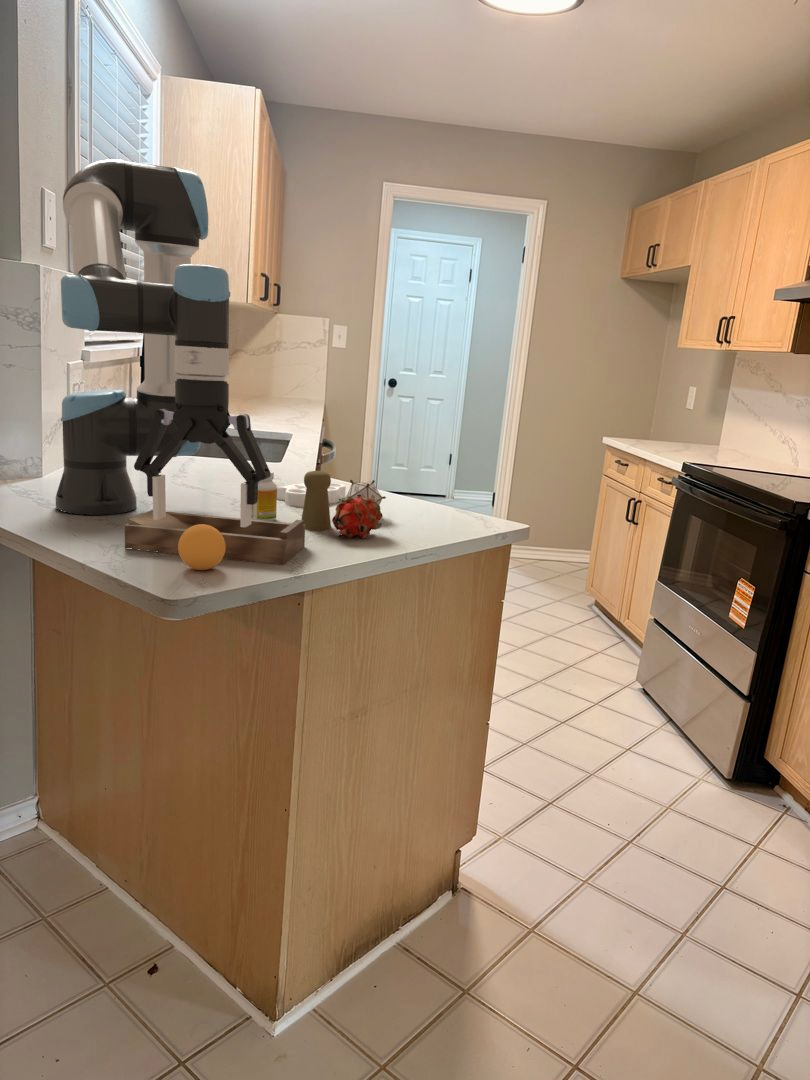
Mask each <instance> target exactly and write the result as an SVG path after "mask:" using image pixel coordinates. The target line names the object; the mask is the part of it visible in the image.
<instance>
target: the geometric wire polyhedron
mask: <svg viewBox="0 0 810 1080" xmlns="http://www.w3.org/2000/svg"><path fill="white" fill-rule="evenodd" d="M349 482H350V483H351V485H350V487H349V490H348V492H347V494H346V495H345V499H341V501H340V503H343V502H345V500H346V499H347V498H348V497H349V498H353V499H357V495H361V496H362V498H363V499H365V500H367V499H369V498H374V499H375V503H378V504H379V506H380V505H381V502H382V500H383V499H386V498H387V497H386V496H384V495H381V493H380V492H379V490H378V489H377V488H376V486H375V485H374V483H376V480H375V479H373V480H372V481H371V482H354V481H353V479H350V480H349Z"/></svg>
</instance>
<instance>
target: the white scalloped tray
mask: <svg viewBox="0 0 810 1080" xmlns="http://www.w3.org/2000/svg"><path fill="white" fill-rule="evenodd" d="M346 487H347V486H346V485H345V484H342V483H334V482H331V484H330V486H329V488H328V499H329V504H336V503H339V502H340V500H339V499H341V500H343V499H342V498H346V493H347V492H346V490H347V489H346ZM306 489H307V488H306V486H305V484H304V482H303V483H297V484H295V483H293V484H289V485H285V486H277V501H278V500H280V501H285V502H284V504H285V505H286V506H289V507H299V508H300V507H301V508H302V507H304V501H305V495H306ZM338 501H339V502H338Z"/></svg>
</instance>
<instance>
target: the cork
mask: <svg viewBox="0 0 810 1080" xmlns="http://www.w3.org/2000/svg"><path fill="white" fill-rule="evenodd" d="M303 483H304V484H305V486H306V488H307V489H306V495H305V501H304V507H303V508H302V513H301V514H302V515H301V519H300V520H304V524H305V530H308V531H317V532H318V531H327V530H330V529H331V528H332V525H331V524H332V520H331V512H330V503H329V499H328V488H329V486H330V484H331V483H332V478H331V475H330V473H328V472H326V471H323V470H311V471H307V472H306V473H305V474H304V476H303Z"/></svg>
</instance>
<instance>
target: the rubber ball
mask: <svg viewBox="0 0 810 1080" xmlns="http://www.w3.org/2000/svg"><path fill="white" fill-rule="evenodd" d="M225 548H226V546H225V541H224V538H223V536H222V534H221V533H220V532H219V531H218V530H217V529H216V528H214V527H212V526H210V525H206V524H198V525H194V526H192V527H190V528H188V529H187V530H186V531H185V532H184V533H183V534H182V535H181V537H180V540H179V543H178V551H179V554H178V555H179V557H180V559H181V561H182V562H183V563H184V564H185V565H187V566H188V567H189V568H191V569H193V570H197V571H206V570H210V569H213V568H215V567H216V566H217V565H219V564H220V563H221V561H222V560H223V559H222V558H223V556H224V554H225Z"/></svg>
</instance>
